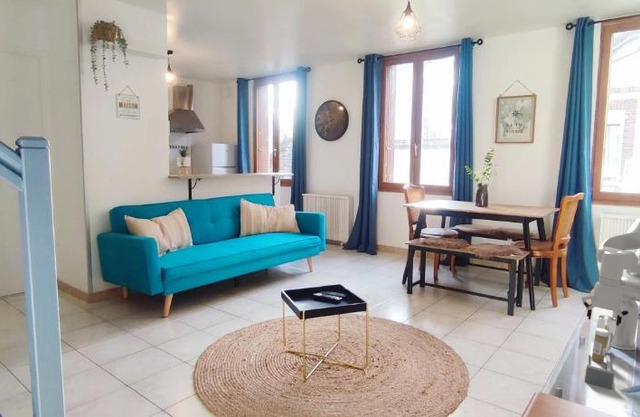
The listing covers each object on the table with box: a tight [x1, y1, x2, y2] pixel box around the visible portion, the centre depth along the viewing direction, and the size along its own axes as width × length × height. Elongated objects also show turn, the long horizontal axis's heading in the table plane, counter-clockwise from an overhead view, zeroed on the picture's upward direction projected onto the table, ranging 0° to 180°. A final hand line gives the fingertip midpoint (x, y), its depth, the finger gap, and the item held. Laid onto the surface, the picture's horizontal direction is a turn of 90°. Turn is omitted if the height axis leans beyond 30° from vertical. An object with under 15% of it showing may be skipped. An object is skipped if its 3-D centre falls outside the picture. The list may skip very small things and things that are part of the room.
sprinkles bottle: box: [591, 328, 609, 363], centre depth 177 cm, size 5×5×13 cm
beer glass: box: [595, 314, 616, 355], centre depth 186 cm, size 7×7×15 cm
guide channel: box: [584, 350, 615, 390], centre depth 170 cm, size 27×8×6 cm, turn 148°
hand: (603, 321), depth 175 cm, fingers open, 9 cm apart
